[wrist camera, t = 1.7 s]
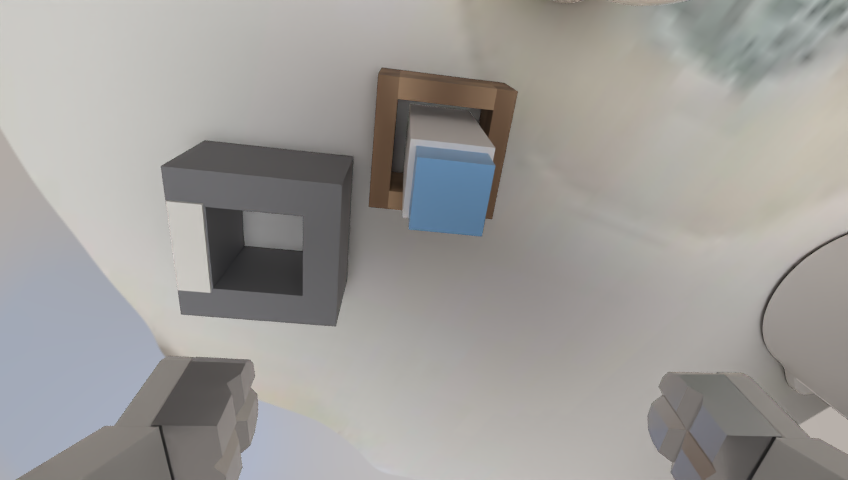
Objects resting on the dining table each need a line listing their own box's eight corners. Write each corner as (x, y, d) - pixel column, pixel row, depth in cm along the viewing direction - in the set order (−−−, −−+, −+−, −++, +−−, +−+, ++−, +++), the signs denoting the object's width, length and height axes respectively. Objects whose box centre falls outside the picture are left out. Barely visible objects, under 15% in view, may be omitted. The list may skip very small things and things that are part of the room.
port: (353, 156, 31) (341, 185, 26) (346, 280, 35) (335, 328, 30) (204, 140, 30) (159, 167, 25) (216, 268, 35) (179, 316, 29)
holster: (504, 82, 29) (517, 91, 26) (482, 197, 33) (492, 219, 29) (381, 67, 29) (378, 74, 25) (372, 186, 32) (368, 206, 29)
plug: (469, 110, 30) (503, 159, 19) (459, 168, 32) (487, 242, 21) (409, 103, 30) (410, 149, 19) (403, 161, 31) (401, 234, 21)
